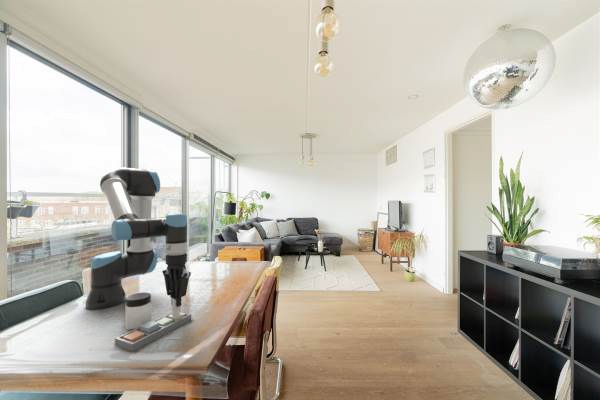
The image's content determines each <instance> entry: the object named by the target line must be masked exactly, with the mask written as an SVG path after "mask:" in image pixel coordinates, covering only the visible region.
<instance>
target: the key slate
mask: <svg viewBox="0 0 600 400" xmlns="http://www.w3.org/2000/svg"><path fill="white" fill-rule="evenodd" d="M158 329H159V323H158V322H154V320H152V321H150V322H147V323H145V324H143V325H141V326H140V331H141V332H145V333H148V334H150V333H152V332H154V331H156V330H158Z"/></svg>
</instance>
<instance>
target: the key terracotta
mask: <svg viewBox="0 0 600 400" xmlns="http://www.w3.org/2000/svg"><path fill="white" fill-rule="evenodd" d="M143 337H144V333H141V332H138V331H135V332H132V333H130V334H128V335H126V336H124V337H123V339H124V340H127V341H130V342H133V343H134V342H136V341H138V340H140V339H142V338H143Z"/></svg>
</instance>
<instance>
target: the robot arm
mask: <svg viewBox="0 0 600 400" xmlns="http://www.w3.org/2000/svg"><path fill="white" fill-rule="evenodd" d="M160 180H161V179H160V177H159V174H158V173H157V172H156V171H155V170H153V169H147V168H145V169H144V168H143V169H142V168H131V167H123V166H121V167H116V168H112V169H111V170H108V171H107V172H106V173H105V174H104V175H102V177H101V179H100V183H99V186H100V190H101V192H102V194H104V195H106V198H107V201H108V204H109V206H110V210H111V213H112V214H113V218H114V221H112V223H111V228H110V230H111V237H112V239H113V240H115V241H128V240H130V242H129V243H130V245H129V247H127V248H126V253H122V251H117V250H115V251H109V252H106V253H102V254H98V255H95V256H94V257H92V259H91V261H90V290H89V293H88V296H87V297H86V301H85V309H87V310H100V309H107V308H112V307H115V306H118V305H120V304H123V303H124V302H126V298H127V295H126V291H125V290H124V287H123V285H122V281H123V280H122V279H124V278H130V277H135V276H141V275H146V274H150V273H152V272H153V271H154V270H155V269H156V267H157V264H158V254H157V251H156V250H154V247H153V245H151V238H159V237H165V254H166V255H165V265H167V266H166V268H165V269H164V270H162V275H163V278H164V284H165V290H166V295H167V296H170V301H171V303H170V304H171V312H172V315H173V316H176V315H178V314H180V313H181V312H182V311H181V309H182V298H184V296H186V295H187V290H188V285H189V281H190V277H191V275H192V272H191V271H188V270H187V267H186V264H187V262H188V253H187V251H188V215H187V214H186V213H167V214H166V215H165V217H158V218H157V217H155V218H154V217H153V218H152V205H153V204H152V203H153V199H155V197H156V194H158V193H159V192H160V189H161V181H160Z"/></svg>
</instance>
